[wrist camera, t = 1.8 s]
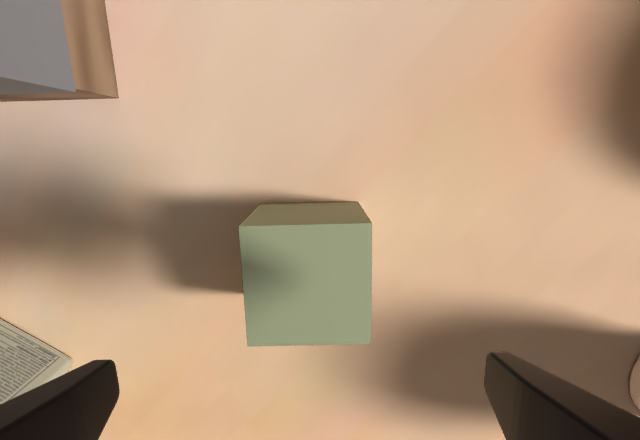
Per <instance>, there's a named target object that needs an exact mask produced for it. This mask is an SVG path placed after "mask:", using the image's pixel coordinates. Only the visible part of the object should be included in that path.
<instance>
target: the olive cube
mask: <svg viewBox="0 0 640 440" xmlns="http://www.w3.org/2000/svg"><path fill="white" fill-rule="evenodd" d="M239 239H240V253H241V266H242V279H243V292H244V306H245V319H246V332H247V345H248V346H289V345H335V344H371V296H372V222H371V221H370V219H369V218H368V216H367V215H366V213H365V212H364V210H363V209H362V207H361V206H360V204H359V202H326V203H283V204H260V205H259V206H258V207H257V208H256V209H255V210H254V211H253V212H252V213H251V214H250V215H249V216H248V217H247V218H246V219H245V220H244V221H243V222H242V223H241V224H240V225H239Z"/></svg>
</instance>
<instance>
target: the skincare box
mask: <svg viewBox="0 0 640 440" xmlns="http://www.w3.org/2000/svg"><path fill="white" fill-rule="evenodd" d="M71 364H72V359H71V358H70V357H68V356H67V355H65V354H63V353H61V352H59V351H58V350H56V349H54V348H52V347H51V346H49V345H47V344H45V343H44V342H42V341H40V340H38V339H36V338H34V337H33V336H31V335H29V334H27V333H25V332H23V331H21V330H20V329H18V328H16V327H14V326H13V325H11V324H9V323H7V322H5V321H4V320H2V319H0V404H2V403H4V402H6V401H8V400H10V399H13V398H15V397H17V396H19V395H21V394H23V393H25V392H27V391H30V390H32V389H34V388H36V387H38V386H40V385H42V384H45V383H47V382H49V381H51V380H53V379H55V378H57V377H59V376H62V375H64V374H66V372H67V371H68V369H69V367H70V366H71Z"/></svg>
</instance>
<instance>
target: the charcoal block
mask: <svg viewBox="0 0 640 440" xmlns="http://www.w3.org/2000/svg"><path fill="white" fill-rule="evenodd" d="M67 92H76V90H75V84H74V78H73V72H72V67H71V61H70V55H69V49H68V43H67V38H66V32H65V26H64V20H63V14H62V8H61V3H60V0H0V95H6V94H36V93H67Z"/></svg>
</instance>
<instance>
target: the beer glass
mask: <svg viewBox="0 0 640 440" xmlns="http://www.w3.org/2000/svg"><path fill="white" fill-rule="evenodd" d="M630 394H631V397H632V400H633V402H634V403H635V405H636V406H637V408H638V409H639V410H640V356H639V358H638V359H637V361H636V363H635V365H634V367H633V369H632V372H631V376H630Z"/></svg>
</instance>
